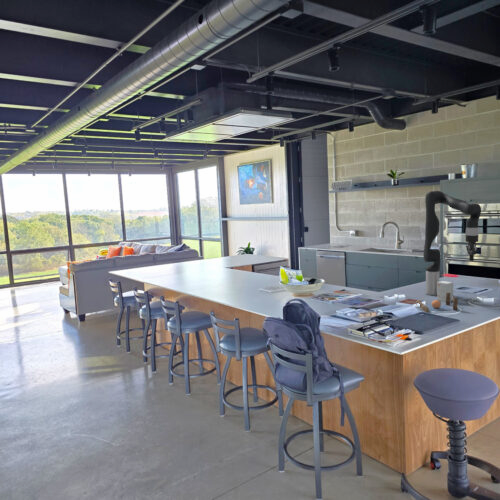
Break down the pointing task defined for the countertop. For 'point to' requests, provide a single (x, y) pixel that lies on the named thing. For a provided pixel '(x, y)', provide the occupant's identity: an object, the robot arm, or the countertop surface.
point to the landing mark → (438, 308)
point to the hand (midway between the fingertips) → (471, 260)
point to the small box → (444, 290)
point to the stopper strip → (423, 306)
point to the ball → (436, 304)
